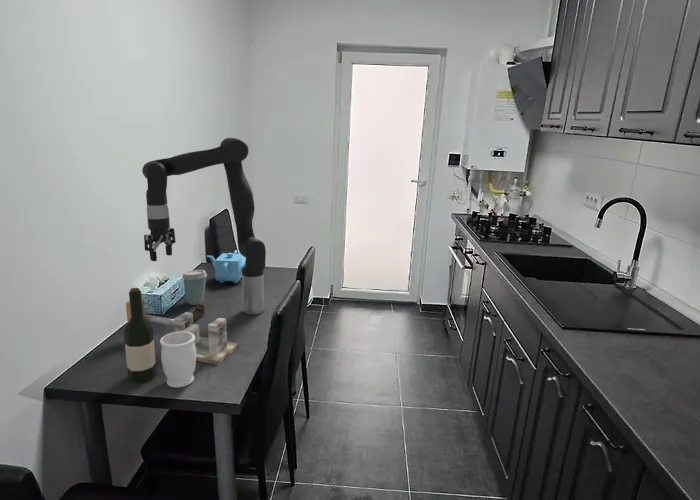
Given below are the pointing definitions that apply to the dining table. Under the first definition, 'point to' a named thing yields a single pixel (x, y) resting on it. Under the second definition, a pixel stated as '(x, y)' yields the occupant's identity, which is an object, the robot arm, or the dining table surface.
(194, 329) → the spacer collar
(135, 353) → the wine bottle
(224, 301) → the dining table surface
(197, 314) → the hand tool
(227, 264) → the teakettle
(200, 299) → the disposable coffee cup
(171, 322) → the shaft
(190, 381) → the jar
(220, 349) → the bearing stand
